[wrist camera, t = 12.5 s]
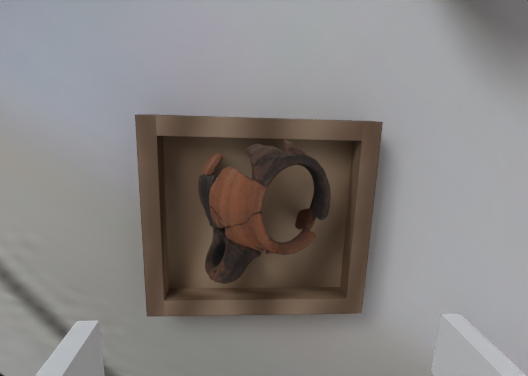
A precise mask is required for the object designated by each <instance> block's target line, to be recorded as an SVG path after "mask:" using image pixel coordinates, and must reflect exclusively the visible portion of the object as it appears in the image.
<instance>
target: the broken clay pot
mask: <svg viewBox="0 0 528 376" xmlns="http://www.w3.org/2000/svg"><path fill="white" fill-rule="evenodd" d="M283 145H284V152H282V151H281V150H279V149H278V148H275V147H273V146H262V145H260V144H254V145H252V146H250V147H248V148H246V149H245V154H246V155H247V156H248V157H250V163H251V167H252V179H251V178H249V177H248V176H246V175H244V174H242V173H241V172H239V171H238V170H236V169H235V168H234V167H232V166H231V167H226V168H224V169H222V171H221V172H220V174H219V176H217V175H212V174H213V172H214V170H215V169H216V167H217V165H218V164H219V163H220V161H221V160H222V159H223V155H222V154H221V153H216V154H212V155H211V156H210V157H209V158H208V160H207V161H206V163H205V164H204V166H203V168H202V171H201V174H200V177H199V183H198V192H199V198H200V201H201V204H202V206H203V208H204V209H205V213H206V216H207V218H208V220H209V224H210V226H211V227H212V228H213V238H212V242H211V245H210V247H209V250H208V252H207V255H206V260H205V270H206V273H207V274H208V276H209V278H210V279H211V280H214V281H215V282H219V283H222V284H228V283H231V282H234V281H236V280H237V279H238V278H239V277H240V276H241V275H242V274H243V273H244V271H245V270H246V267H247V266H248V265H249V263H250V262H251V261H252V260H254V259H255V258H258V257H260V255H261V252H260V251H263V250H266V253H267V254H273V253H274V254H281V255H288V254H294V253H297V252H299V251H300V250H303V249H304V248H306V247H307V246H308V245H309V244H310V243H311V242H313V240H314V239H315V238H316V234H315V233H314V232H312V231H310V230H311V228H312V227H313V225H314V222H315V220H316V217H317V218H318V219H319V220H324V219H325V218H326V217H327V216H328V213H329V209H330V198H331V193H330V185H329V181H328V179H327V177H326V173H325V171H324V169H323V168H322V167H321V165H320V164H319V163H318V162H317V161H316V160H315V159H314V158H312V157H310V156H308V155H307V154H306V153H305V152H303V151H302V150H301V149H299V148H298V147H297V146H295V145H294V144H293V143H291V142H289V141H287V140H283ZM293 165H301V166H303V167H305V168H306V169H307V170H308V171H309V172H310V174H311V176H312V179H313V183H314V194H313V198H312V202H311V205H310V208H308V209H304V210H300V211H299V213H298V215H297V218H296V223H295V227H296V228H297V229H299V230H301V229H303V230H302V231H301V232H300V233H299V234H298V235H297V236H296V237H295V238H293V239H292V240H290V241H288V242H282V243H281V242H277V241H274V240H273V239H272V238H271V237H270V236H269V235H268V233H267V231H266V229H265V226H264V223H263V215H262V209H263V202H264V198H265V194H266V192H267V188H268V185H269V184H270V183H271V182H272V180H273V179H274V178H275V176H276V175H277V174H278V173H279V172H281V171H282V170H284V169H285V168H287V167H289V166H293Z"/></svg>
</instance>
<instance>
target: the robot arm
mask: <svg viewBox="0 0 528 376" xmlns="http://www.w3.org/2000/svg"><path fill="white" fill-rule="evenodd" d="M431 373H432V374H433V376H526V375H525V374H524V373H523V372H522V371H521V370H520V369H519V368H518V367H517V366H515V365H514V364H513V363H512V362H511V361H510V360H509V359H508V358H507V357H506V356H505V355H504V354H503V353H501V352H500V351H499V350H498V349H497V348H496V347H495V346H494V345H493V344H492V343H491V342H490V341H489V340H487V339H486V338H485V337H484V336H483V335H482V334H481V333H480V332H479V331H478V330H477V329H476V328H475V327H473V326H472V325H471V324H470V323H469V322H468V321H467V320H466V319H465V318H464V317H463V316H462V315H461V314H441V318H440V324H439V330H438V335H437V341H436V346H435V352H434V357H433V363H432V368H431ZM35 376H104V366H103V357H102V347H101V337H100V327H99V321H77V322H76V323H75V324H74V326H73V327H72V328H71V329H70V331H69V332H68V333H67V335H66V336H65V337H64V339H63V340H62V341H61V343H60V344H59V345H58V346H57V348H56V349H55V350H54V352H53V353H52V354H51V356H50V357H49V358H48V359H47V361H46V362H45V363H44V365H43V366H42V367H41V369H40V370H39V371H38V372H37V374H36V375H35Z"/></svg>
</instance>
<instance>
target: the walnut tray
mask: <svg viewBox="0 0 528 376" xmlns="http://www.w3.org/2000/svg"><path fill="white" fill-rule="evenodd" d="M135 121H136V139H137V156H138V173H139V190H140V207H141V224H142V241H143V258H144V275H145V292H146V309H147V316H209V315H280V314H352V313H362V304H363V295H364V286H365V277H366V268H367V259H368V249H369V240H370V231H371V222H372V213H373V204H374V195H375V186H376V177H377V168H378V159H379V150H380V141H381V132H382V123H383V122H374V121H347V120H313V119H279V118H245V117H211V116H177V115H135ZM283 140H287V141H289V142H291V143H293V144H294V145H295V146H297V147H298V148H299V149H301V150H302V151H303V152H305V153H306V154H307V155H308V156H310V157H312V158H314V159H315V160H316V161H317V162H318V163H319V164H320V165H321V167H322V168H323V169H324V171H325V173H326V177H327V179H328V181H329V185H330V193H331V198H330V209H329V213H328V216H327V217H326V218H325V219H324V220H319V219H318V218H317V217H316V220H315V222H314V225H313V227H312V228H311V230H310V231H312V232H314V233H315V234H316V238H315V239H314V240H313V242H311V243H310V244H309V245H308V246H307V247H306V248H304V249H303V250H300V251H299V252H297V253H294V254H288V255H281V254H274V253H273V254H267V253H266V250H263V251H260V252H261V255H260V257H258V258H255V259H254V260H252V261H251V262H250V263H249V265H248V266H247V267H246V270H245V271H244V273H243V274H242V275H241V276H240V277H239V278H238V279H237V280H236V281H234V282H231V283H228V284H222V283H219V282H215V281H214V280H211V279H210V278H209V276H208V274H207V273H206V270H205V260H206V255H207V252H208V250H209V247H210V245H211V242H212V238H213V228H212V227H211V226H210V224H209V220H208V218H207V216H206V213H205V209H204V208H203V206H202V204H201V201H200V198H199V192H198V183H199V177H200V174H201V171H202V168H203V166H204V164H205V163H206V161H207V160H208V158H209V157H210V156H211V155H212V154H216V153H221V154H222V155H223V159H222V160H221V161H220V163H219V164H218V165H217V167H216V169H215V170H214V172H213V174H212V175H217V176H219V174H220V172H221V171H222V169H224V168H226V167H231V166H232V167H234V168H235V169H236V170H238V171H239V172H241V173H242V174H244V175H246V176H248V177H249V178H251V179H252V167H251V163H250V157H248V156H247V155H246V154H245V149H246V148H248V147H250V146H252V145H254V144H260V145H262V146H273V147H275V148H278V149H279V150H281V151H282V152H284V145H283ZM313 194H314V183H313V179H312V176H311V174H310V172H309V171H308V170H307V169H306V168H305V167H303V166H301V165H293V166H289V167H287V168H285V169H284V170H282V171H281V172H279V173H278V174H277V175H276V176H275V178H274V179H273V180H272V182H271V183H270V184H269V185H268V188H267V192H266V194H265V198H264V202H263V209H262V215H263V223H264V226H265V229H266V231H267V233H268V235H269V236H270V237H271V238H272V239H273V240H274V241H277V242H281V243H282V242H288V241H290V240H292V239H293V238H295V237H296V236H297V235H298V234H299V233H300V232H301V231H302V230H303V229H301V230H299V229H297V228H296V227H295V223H296V218H297V215H298V213H299V211H300V210H304V209H308V208H310V205H311V202H312V198H313Z"/></svg>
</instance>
